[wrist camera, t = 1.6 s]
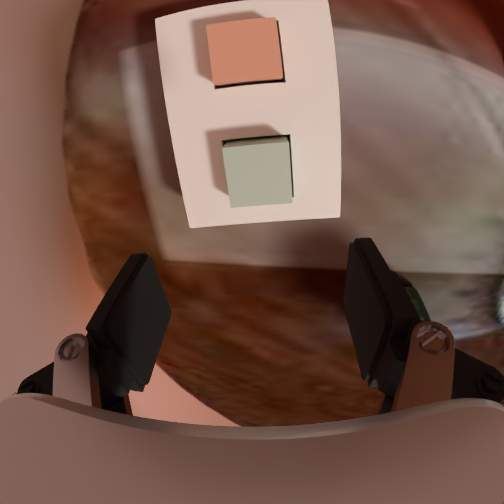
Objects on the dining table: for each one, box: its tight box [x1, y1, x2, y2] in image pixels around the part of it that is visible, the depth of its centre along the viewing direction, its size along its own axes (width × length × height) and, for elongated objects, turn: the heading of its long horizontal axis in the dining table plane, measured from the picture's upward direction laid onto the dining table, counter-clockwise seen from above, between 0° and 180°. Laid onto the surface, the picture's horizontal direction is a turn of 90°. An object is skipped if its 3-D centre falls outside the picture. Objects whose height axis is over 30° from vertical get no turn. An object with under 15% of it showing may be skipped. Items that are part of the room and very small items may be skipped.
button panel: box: [155, 0, 341, 228], centre depth 22 cm, size 14×20×5 cm
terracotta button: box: [206, 17, 283, 86], centre depth 17 cm, size 5×5×3 cm
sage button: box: [222, 136, 293, 208], centre depth 22 cm, size 5×5×3 cm
